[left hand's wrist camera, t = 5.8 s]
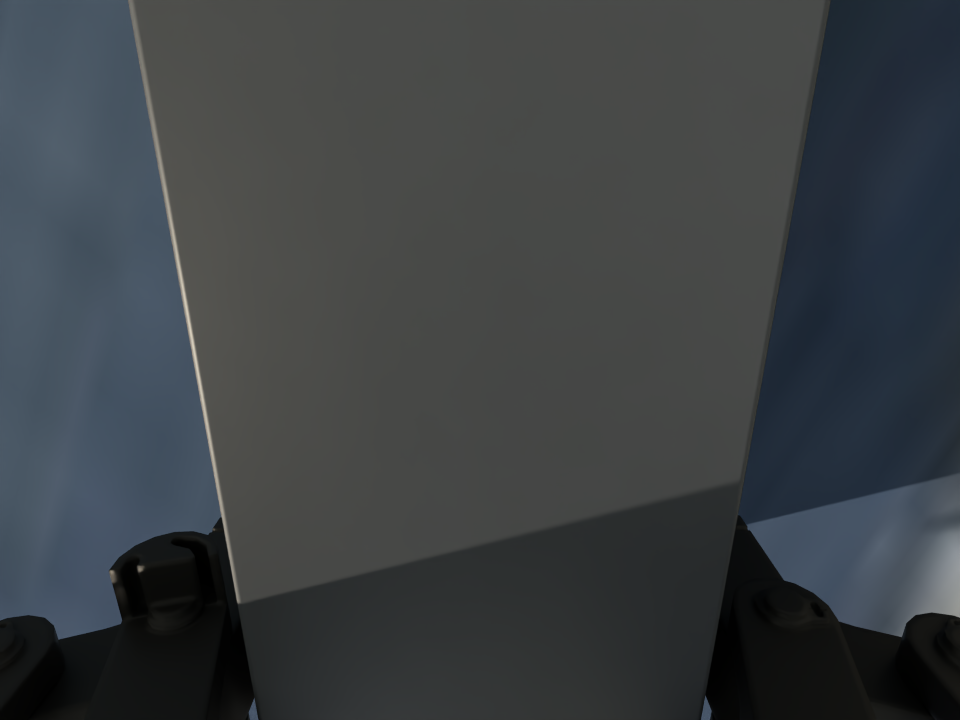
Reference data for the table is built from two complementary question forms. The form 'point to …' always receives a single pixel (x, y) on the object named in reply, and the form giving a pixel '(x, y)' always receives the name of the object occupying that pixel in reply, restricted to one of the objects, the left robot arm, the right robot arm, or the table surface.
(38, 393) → the table surface
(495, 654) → the post
